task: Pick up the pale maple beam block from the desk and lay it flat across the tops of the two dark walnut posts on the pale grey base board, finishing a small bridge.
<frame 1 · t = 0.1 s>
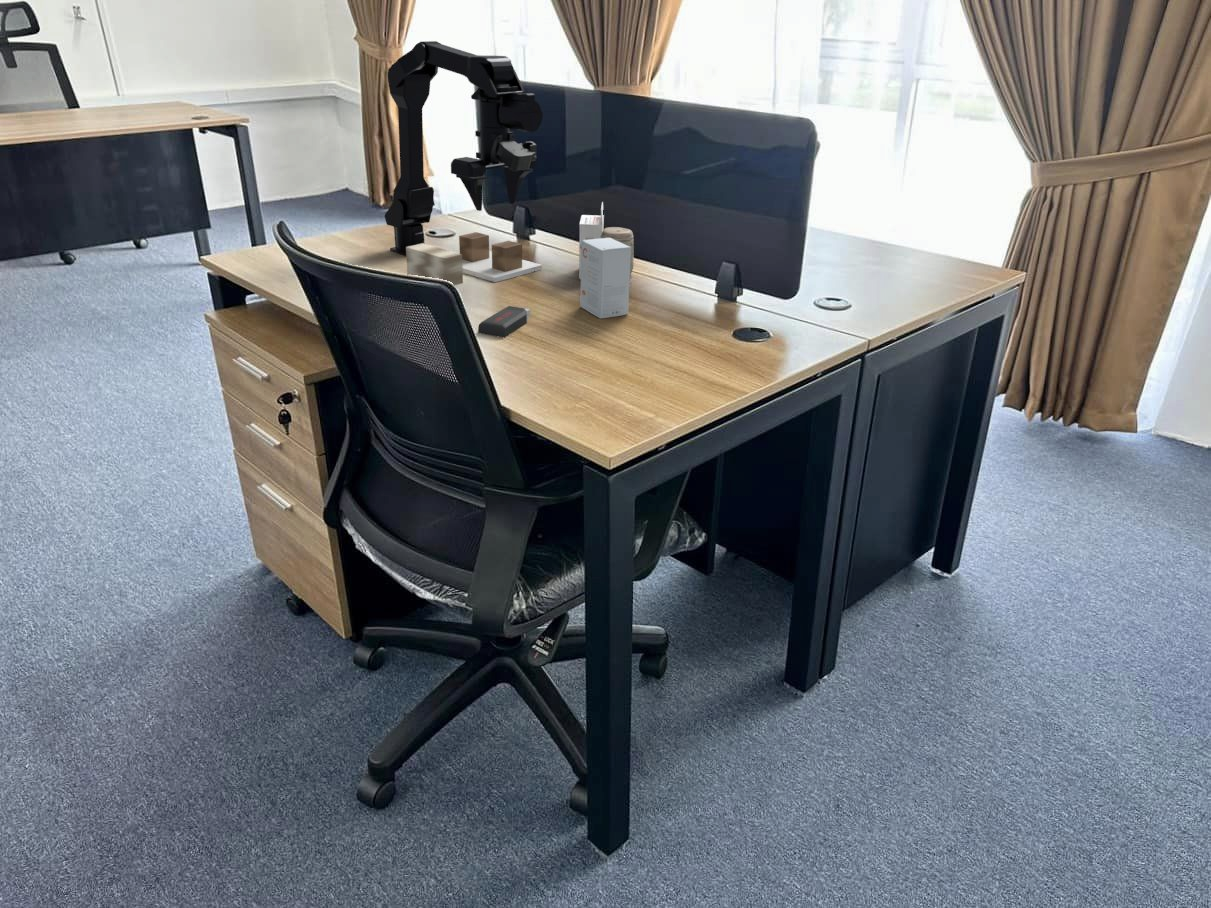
hand: (495, 207, 190), 15 cm above the table, tool pointing down, fingers open, 9 cm apart
ink cartridge box: (590, 275, 201), on the table
carving: (614, 289, 193), on the table
grey base board: (490, 267, 203), on the table
usb drive: (507, 328, 170), on the table
maple beam block: (435, 279, 194), on the table
walnut posts: (490, 251, 201), on the grey base board, point 4 cm above the table
small box: (603, 312, 179), on the table
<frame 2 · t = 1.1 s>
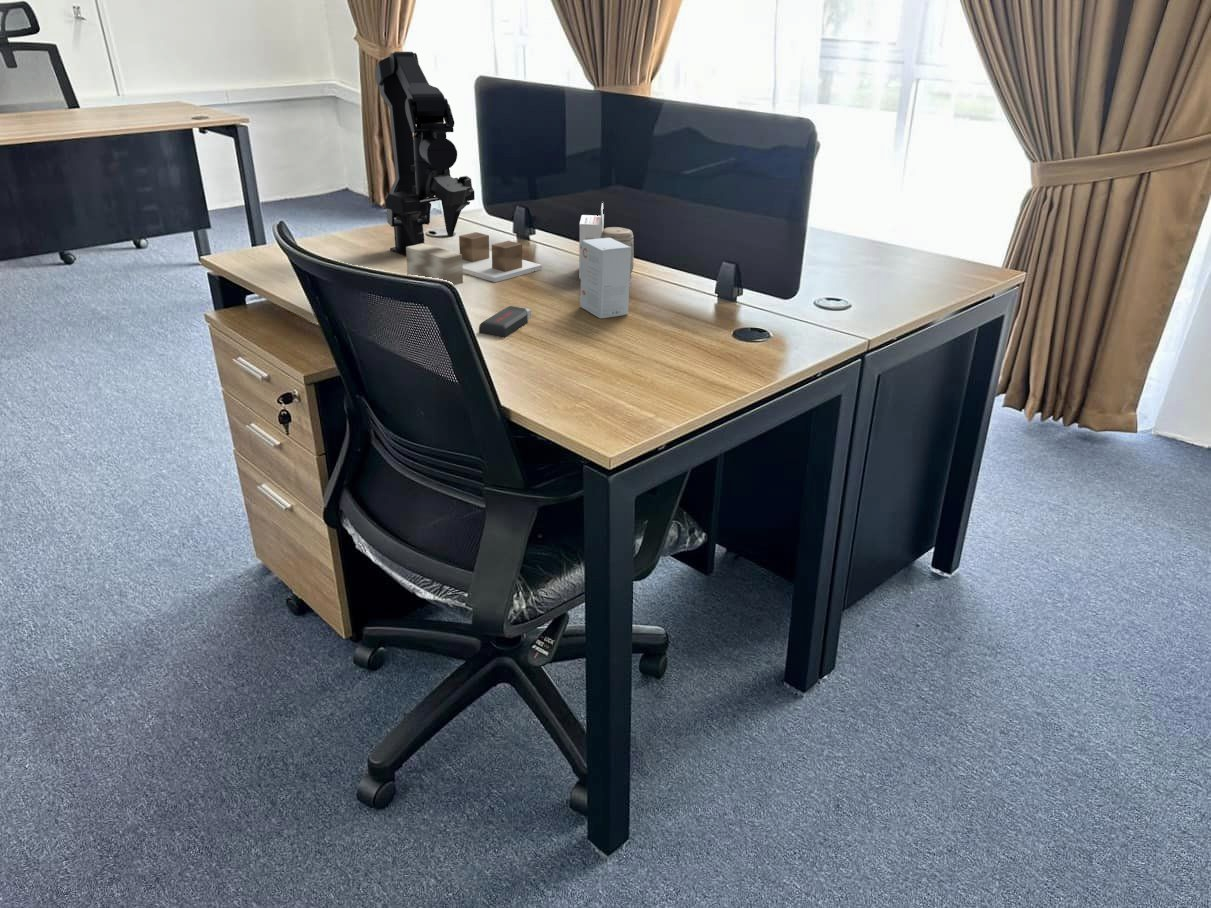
hand: (433, 240, 191), 8 cm above the table, tool pointing down, fingers open, 9 cm apart
nothing on the table moved.
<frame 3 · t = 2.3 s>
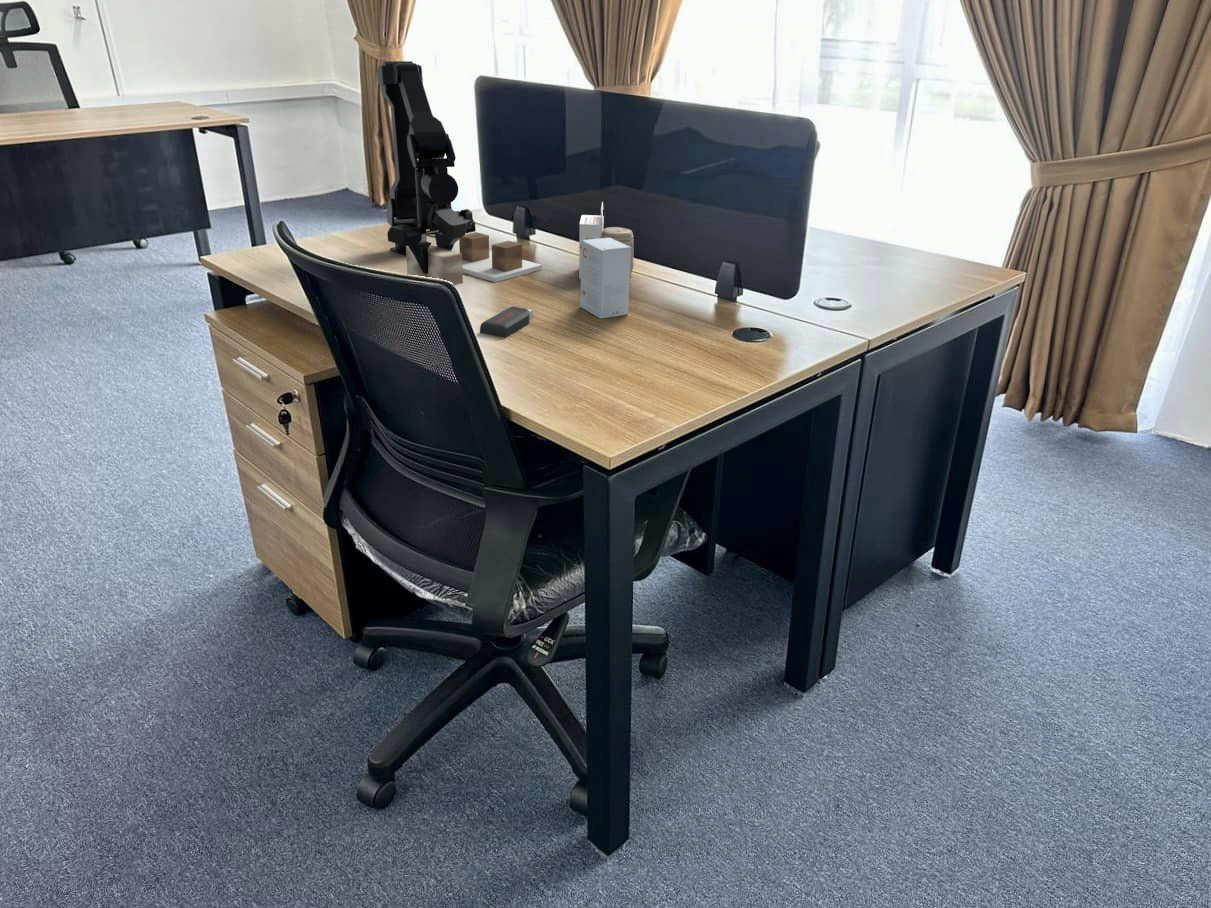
hand: (434, 271, 193), 2 cm above the table, tool pointing down, fingers closed on maple beam block, 4 cm apart
maple beam block: (434, 278, 194), on the table, touching gripper
everything else where it was.
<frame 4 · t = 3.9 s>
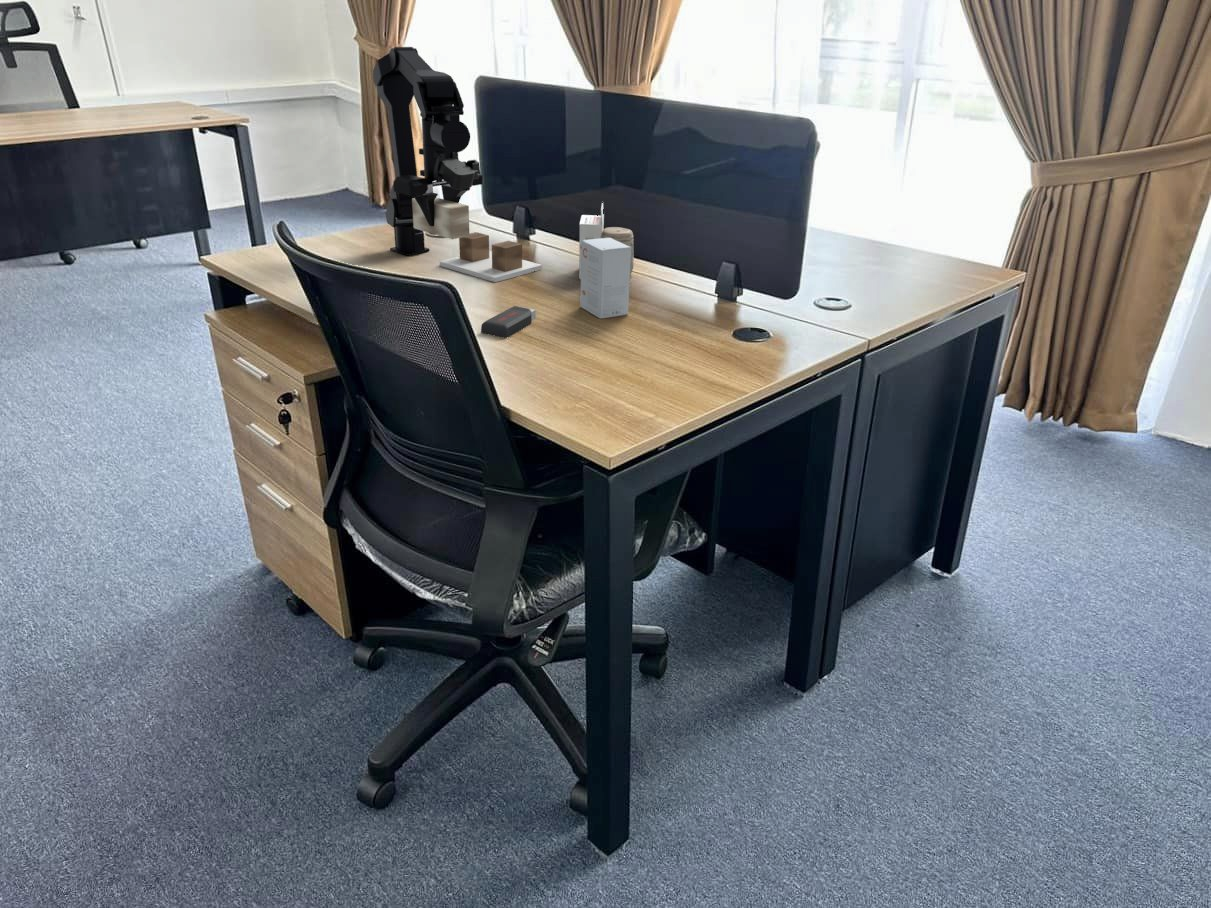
hand: (441, 224, 190), 11 cm above the table, tool pointing down, fingers closed on maple beam block, 4 cm apart
maple beam block: (441, 231, 191), point 9 cm above the table, touching gripper
everything else where it was.
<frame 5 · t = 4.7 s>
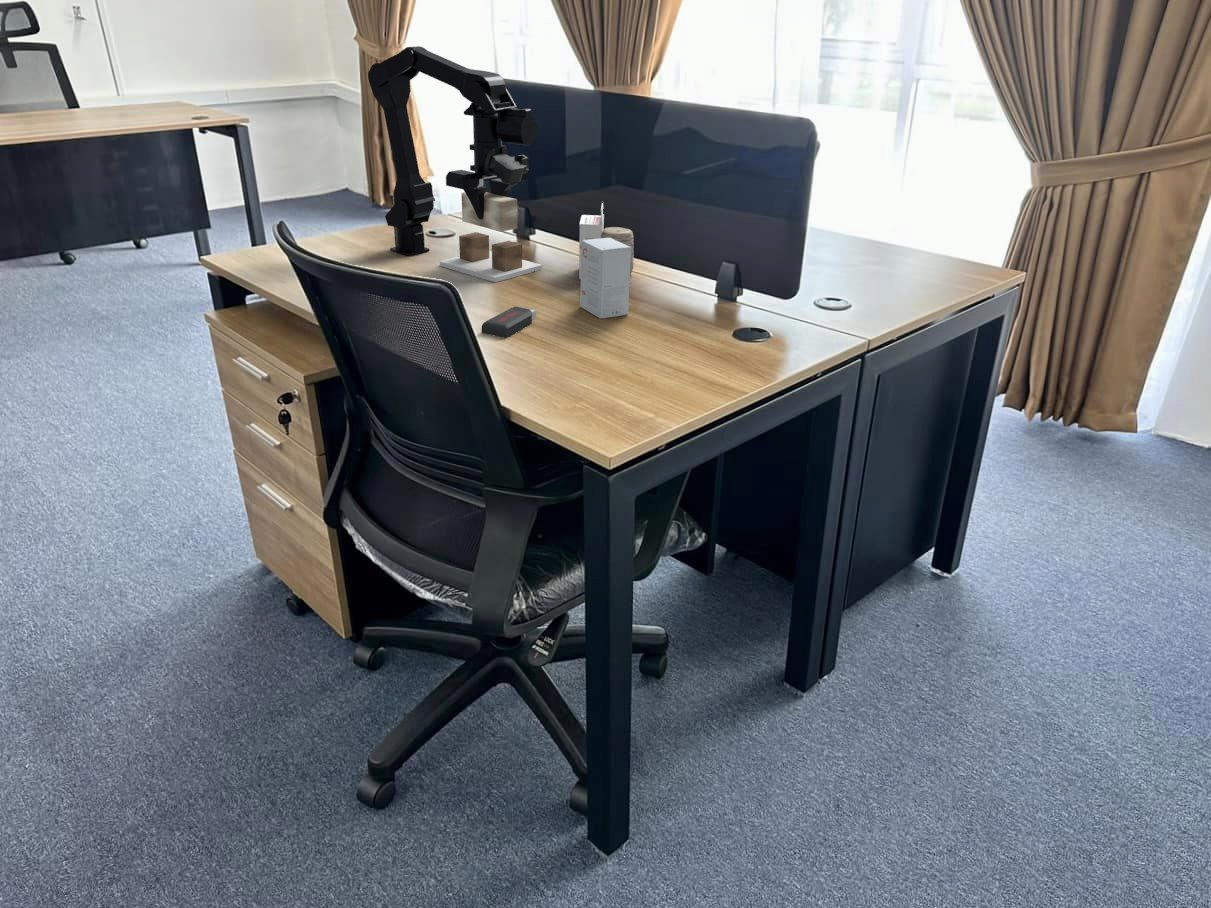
hand: (489, 217, 198), 11 cm above the table, tool pointing down, fingers closed on maple beam block, 4 cm apart
maple beam block: (489, 224, 198), point 9 cm above the table, touching gripper
everything else where it was.
when the fingers open (8 cm above the table, at t = 5.5 s): maple beam block stays where it is, resting on walnut posts.
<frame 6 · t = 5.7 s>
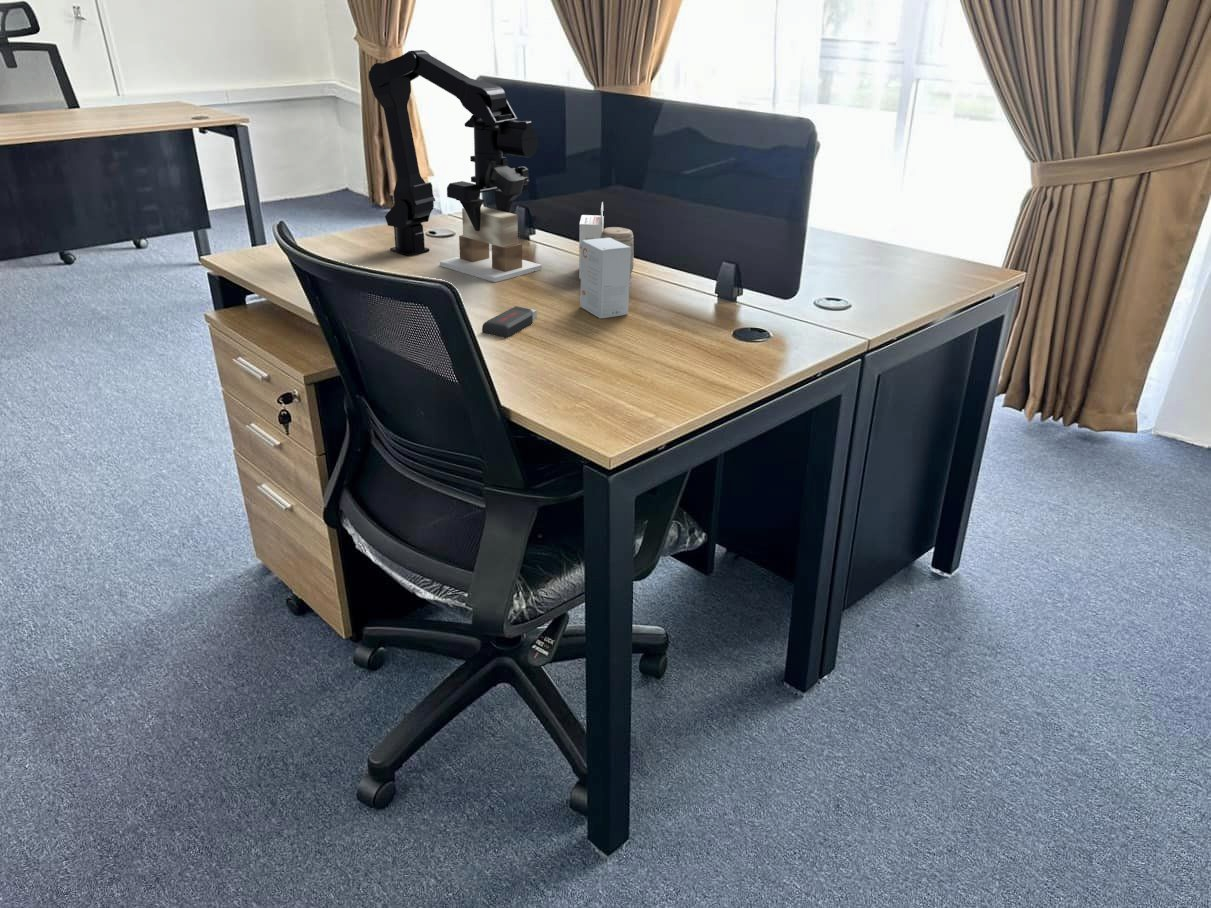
hand: (489, 228, 199), 8 cm above the table, tool pointing down, fingers open, 7 cm apart
maple beam block: (490, 240, 200), point 6 cm above the table, touching walnut posts
everything else where it was.
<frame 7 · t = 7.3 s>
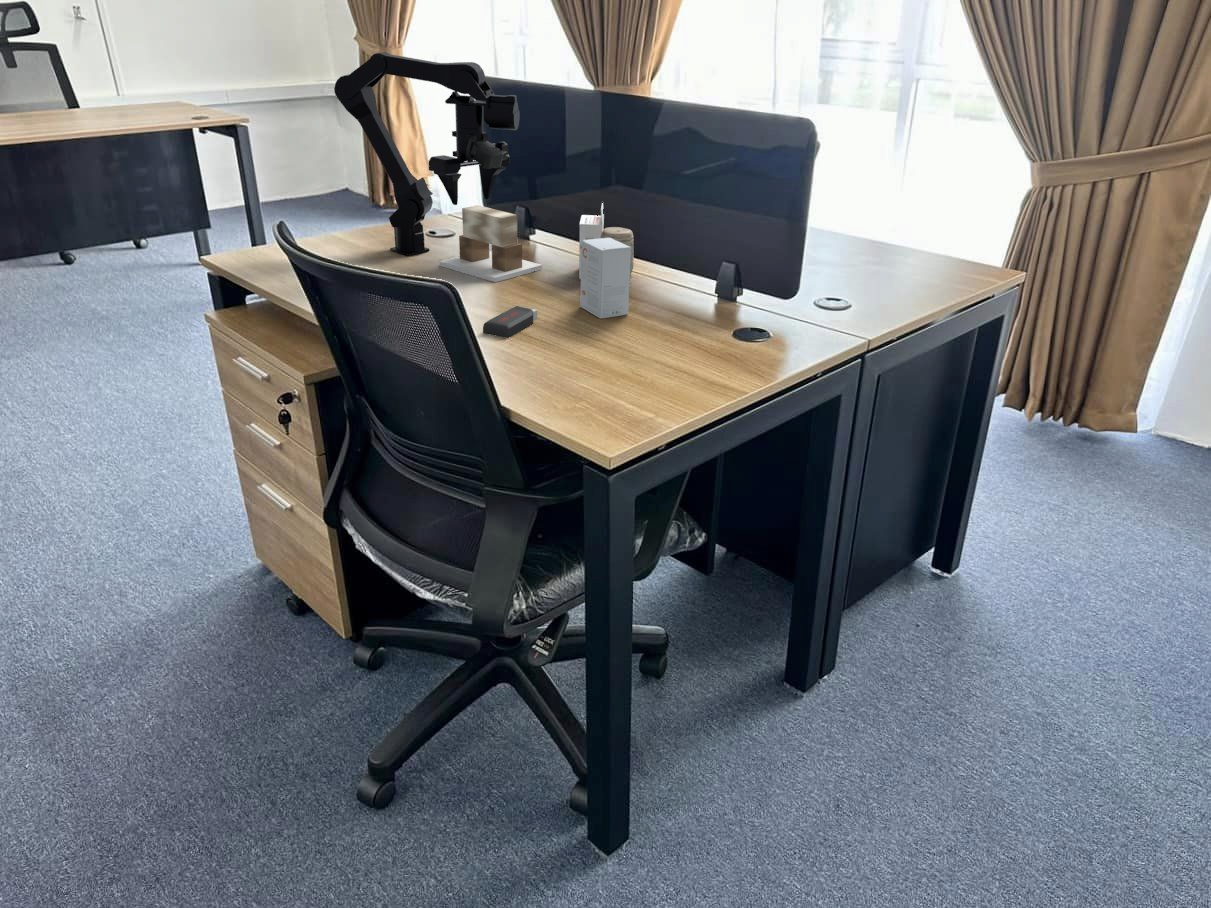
hand: (471, 201, 205), 12 cm above the table, tool pointing down, fingers open, 9 cm apart
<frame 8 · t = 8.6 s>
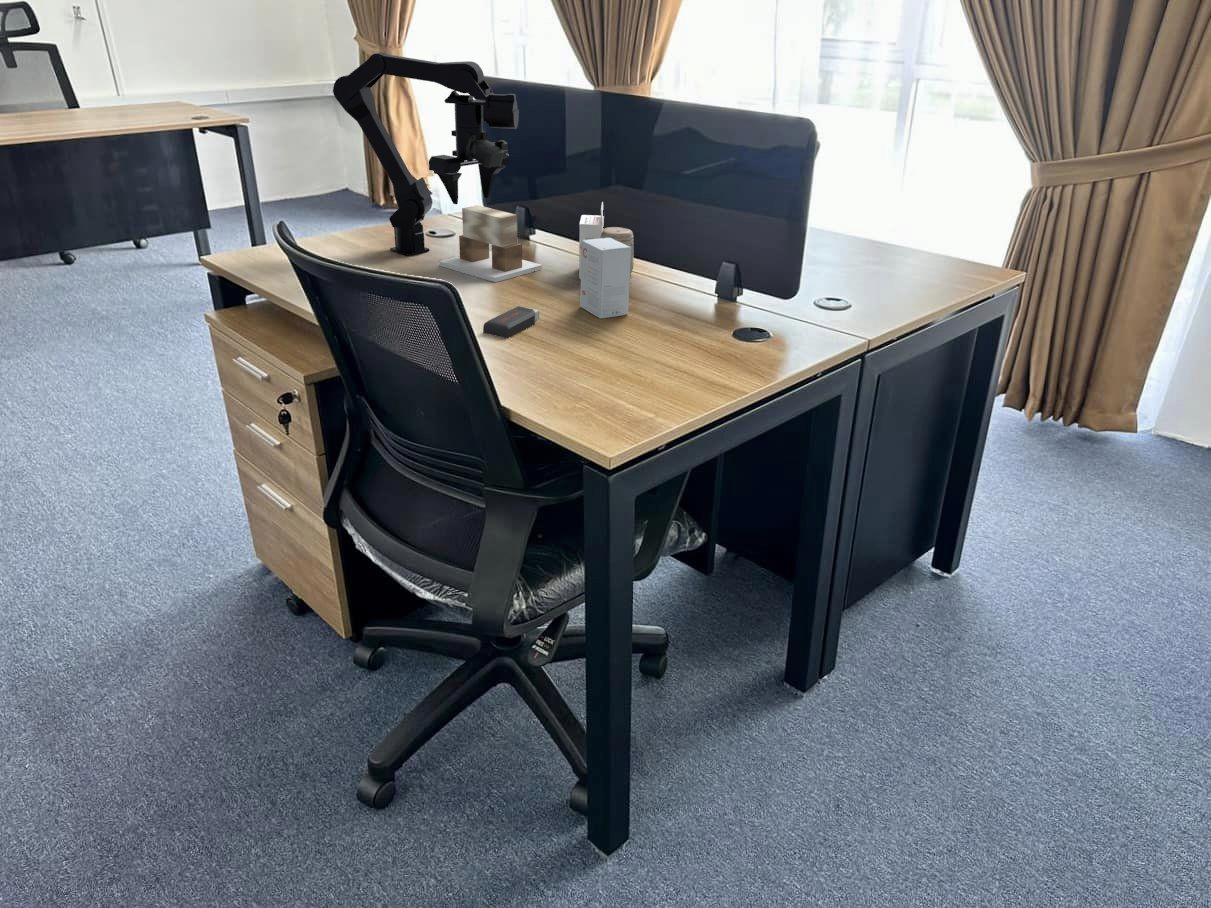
hand: (471, 201, 206), 12 cm above the table, tool pointing down, fingers open, 9 cm apart
at the end: maple beam block 0.1 cm off-centre on the grey base board, point 6.0 cm above the grey base board's base; maple beam block tilted 0°; the gripper is holding nothing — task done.
